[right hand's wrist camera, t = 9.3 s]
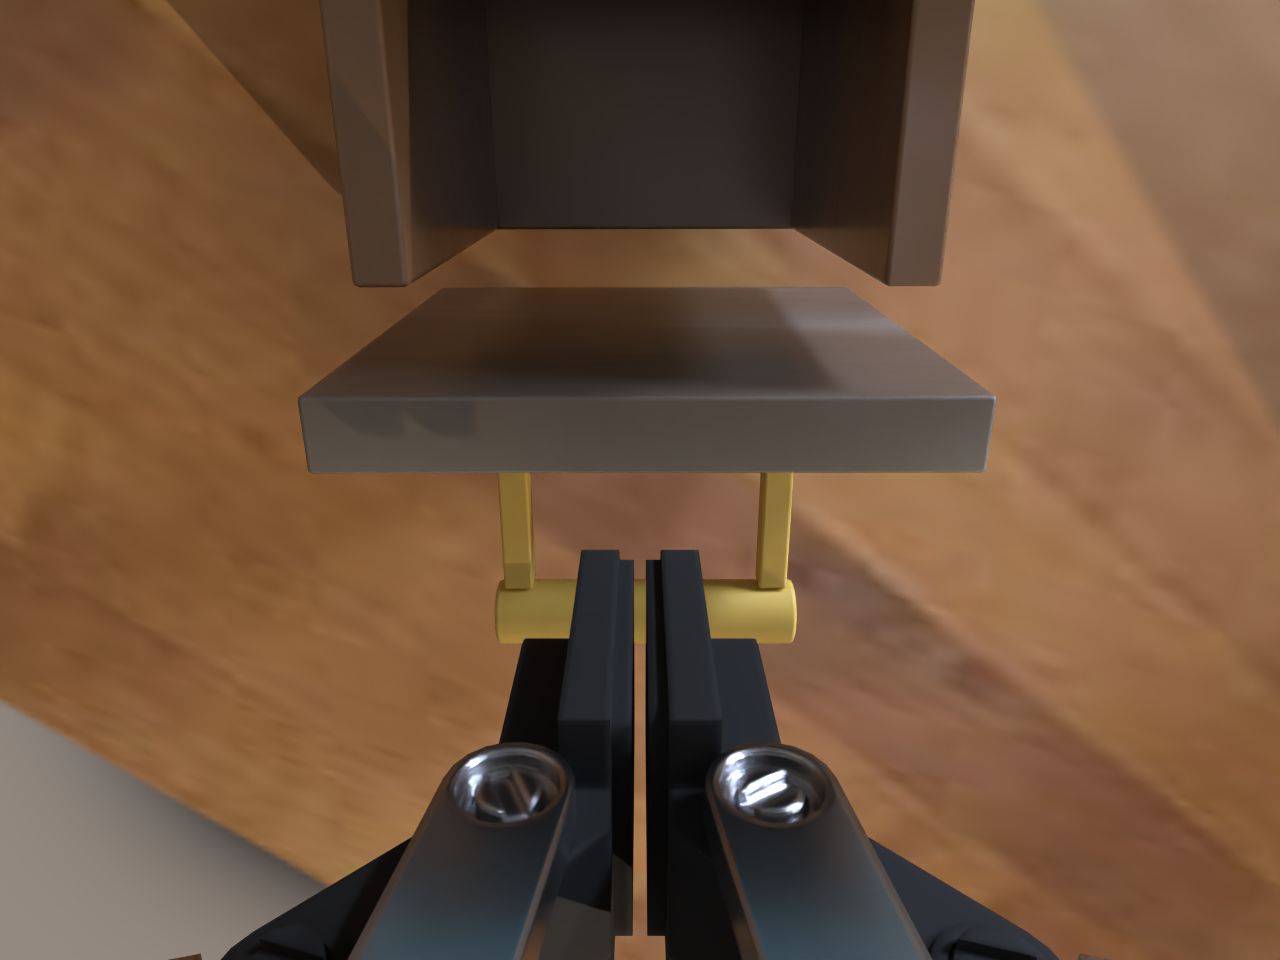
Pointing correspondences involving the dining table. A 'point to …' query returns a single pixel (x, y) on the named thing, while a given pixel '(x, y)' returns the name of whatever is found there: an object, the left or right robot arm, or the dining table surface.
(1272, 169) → the dining table surface
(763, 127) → the drawer
